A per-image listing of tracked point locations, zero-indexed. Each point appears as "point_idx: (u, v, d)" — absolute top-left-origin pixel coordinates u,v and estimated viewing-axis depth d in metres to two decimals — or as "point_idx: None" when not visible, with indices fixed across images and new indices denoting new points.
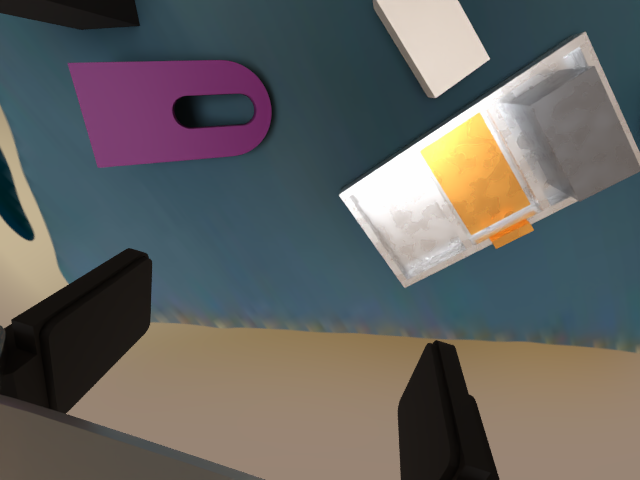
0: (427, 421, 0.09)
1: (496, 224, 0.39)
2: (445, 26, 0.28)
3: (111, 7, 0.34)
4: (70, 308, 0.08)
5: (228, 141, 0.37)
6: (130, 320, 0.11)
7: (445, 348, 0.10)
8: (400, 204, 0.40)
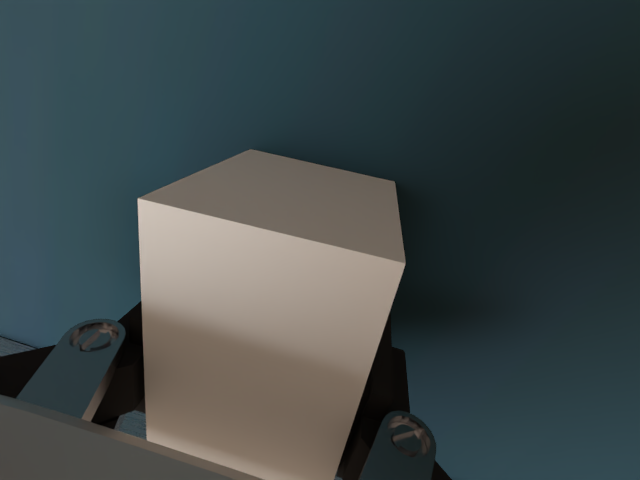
0: None
1: None
2: (273, 448, 0.09)
3: None
4: None
5: None
6: None
7: None
8: None
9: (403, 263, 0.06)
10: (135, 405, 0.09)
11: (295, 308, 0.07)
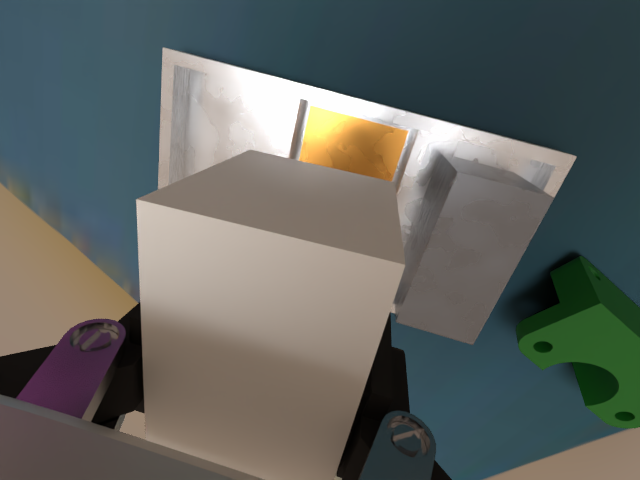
0: None
1: None
2: (272, 450, 0.08)
3: None
4: None
5: None
6: None
7: None
8: (236, 146, 0.26)
9: (403, 265, 0.06)
10: (135, 405, 0.09)
11: (294, 309, 0.07)
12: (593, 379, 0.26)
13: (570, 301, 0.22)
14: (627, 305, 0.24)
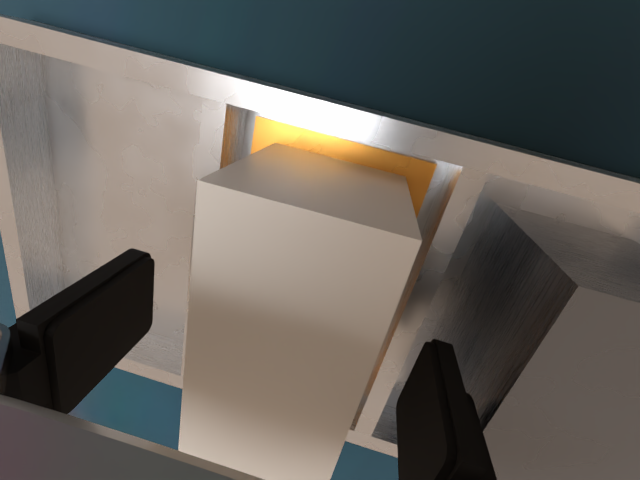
0: (424, 419, 0.09)
1: None
2: (296, 404, 0.10)
3: None
4: (74, 308, 0.08)
5: None
6: (133, 320, 0.11)
7: (443, 346, 0.10)
8: (136, 184, 0.15)
9: (420, 241, 0.07)
10: None
11: (325, 278, 0.08)
12: None
13: None
14: None
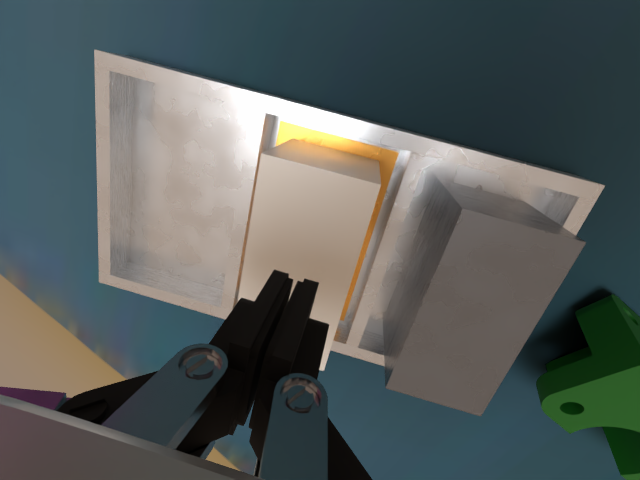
0: None
1: None
2: None
3: None
4: (263, 330, 0.09)
5: None
6: None
7: (308, 283, 0.11)
8: (193, 168, 0.21)
9: (380, 184, 0.14)
10: (229, 429, 0.09)
11: (330, 208, 0.14)
12: (627, 439, 0.21)
13: (606, 355, 0.18)
14: None
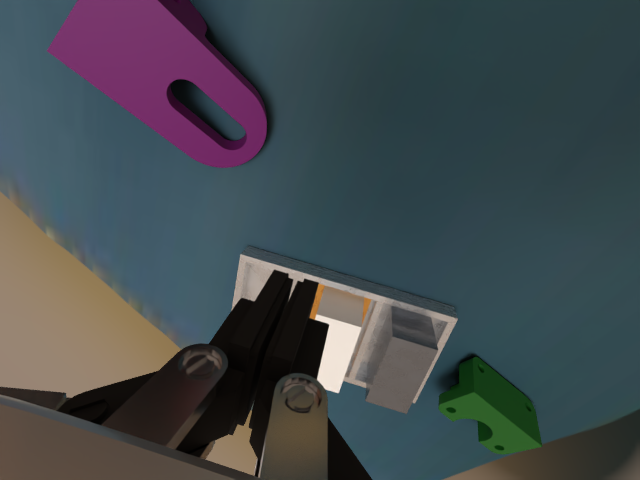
0: None
1: None
2: (333, 362, 0.39)
3: None
4: (263, 329, 0.09)
5: (196, 144, 0.35)
6: None
7: (308, 283, 0.11)
8: None
9: (361, 327, 0.37)
10: (229, 429, 0.09)
11: (342, 333, 0.37)
12: (485, 425, 0.44)
13: (463, 387, 0.41)
14: (499, 386, 0.42)
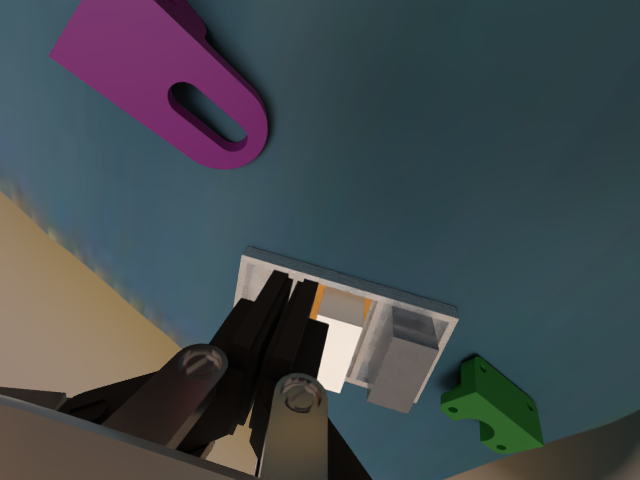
0: None
1: None
2: (335, 362, 0.39)
3: None
4: (263, 330, 0.09)
5: (197, 146, 0.35)
6: None
7: (308, 283, 0.11)
8: None
9: (362, 327, 0.37)
10: (229, 429, 0.09)
11: (343, 334, 0.38)
12: (487, 425, 0.44)
13: (465, 387, 0.41)
14: (501, 386, 0.42)
